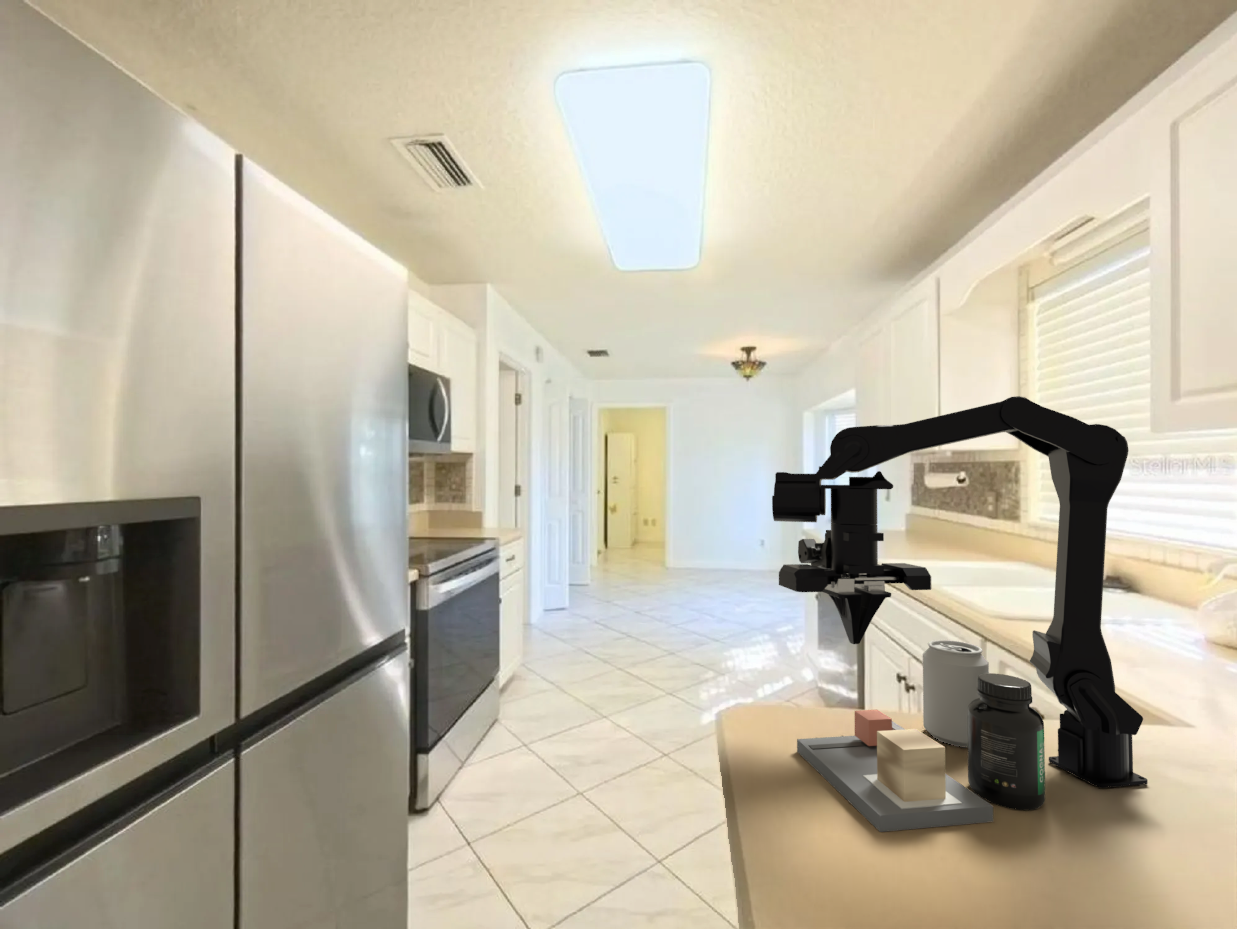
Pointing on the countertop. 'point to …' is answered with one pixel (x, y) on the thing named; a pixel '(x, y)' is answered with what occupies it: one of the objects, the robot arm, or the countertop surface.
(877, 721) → the salmon red cube
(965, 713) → the can
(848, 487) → the robot arm
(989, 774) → the supplement bottle
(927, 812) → the base
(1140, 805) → the countertop surface
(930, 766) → the block
